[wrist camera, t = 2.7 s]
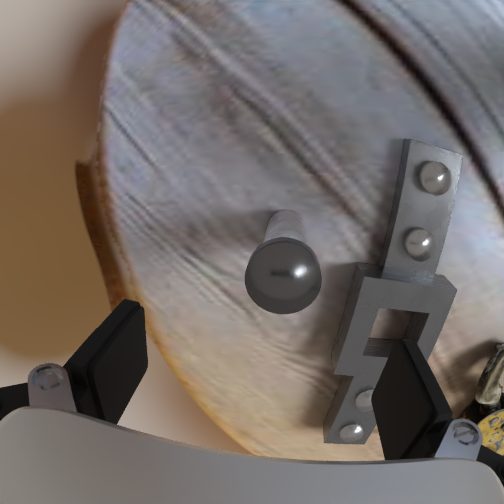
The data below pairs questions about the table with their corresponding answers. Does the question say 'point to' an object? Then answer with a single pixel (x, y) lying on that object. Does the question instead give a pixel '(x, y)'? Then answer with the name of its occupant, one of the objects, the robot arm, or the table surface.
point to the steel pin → (283, 267)
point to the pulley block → (490, 403)
